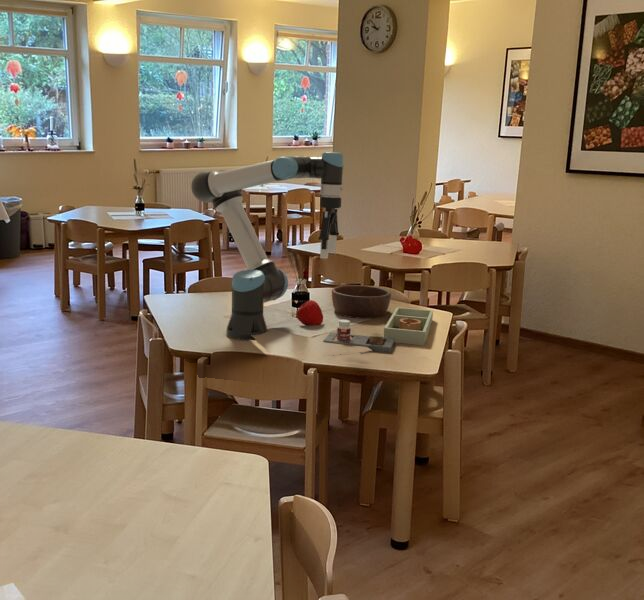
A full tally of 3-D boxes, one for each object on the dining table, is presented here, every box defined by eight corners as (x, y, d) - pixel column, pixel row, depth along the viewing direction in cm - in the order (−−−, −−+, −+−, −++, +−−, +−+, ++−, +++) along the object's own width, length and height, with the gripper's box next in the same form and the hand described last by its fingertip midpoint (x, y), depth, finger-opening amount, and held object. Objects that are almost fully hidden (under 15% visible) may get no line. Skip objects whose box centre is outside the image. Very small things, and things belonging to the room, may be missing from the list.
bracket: (419, 341, 287) (420, 324, 286) (397, 339, 289) (398, 322, 287) (421, 330, 305) (422, 313, 303) (400, 328, 306) (402, 312, 304)
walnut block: (369, 348, 266) (370, 336, 265) (369, 345, 270) (370, 333, 270) (382, 349, 266) (383, 336, 265) (381, 345, 270) (382, 333, 269)
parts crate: (383, 341, 276) (384, 328, 275) (395, 318, 311) (396, 307, 310) (424, 345, 273) (425, 332, 272) (432, 322, 308) (433, 310, 307)
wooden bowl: (401, 318, 314) (403, 294, 312) (354, 324, 300) (355, 299, 298) (365, 305, 334) (366, 283, 332) (319, 311, 320) (320, 287, 318)
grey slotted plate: (323, 345, 266) (323, 340, 266) (330, 337, 278) (330, 332, 277) (390, 352, 261) (390, 347, 261) (394, 344, 273) (395, 338, 272)
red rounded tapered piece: (308, 329, 295) (291, 308, 294) (328, 315, 295) (311, 293, 293) (308, 335, 286) (291, 313, 284) (328, 320, 285) (311, 298, 283)
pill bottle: (340, 345, 268) (341, 322, 266) (334, 342, 272) (335, 319, 270) (351, 344, 270) (353, 322, 268) (346, 341, 274) (347, 318, 272)
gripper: (334, 199, 253) (331, 261, 258) (347, 194, 277) (344, 251, 282) (312, 198, 255) (309, 259, 259) (328, 193, 279) (325, 250, 283)
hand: (328, 255), depth 271 cm, fingers open, 13 cm apart
